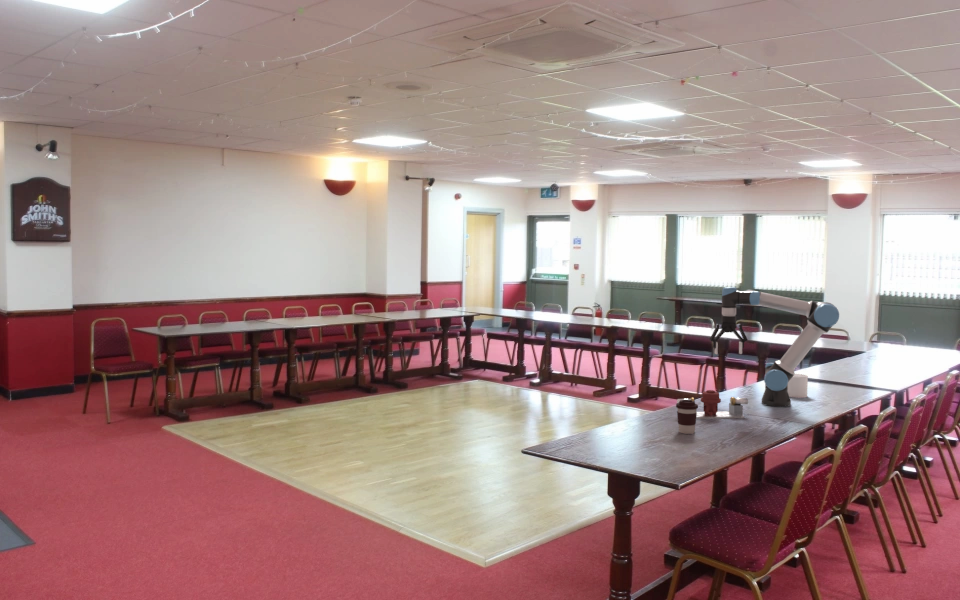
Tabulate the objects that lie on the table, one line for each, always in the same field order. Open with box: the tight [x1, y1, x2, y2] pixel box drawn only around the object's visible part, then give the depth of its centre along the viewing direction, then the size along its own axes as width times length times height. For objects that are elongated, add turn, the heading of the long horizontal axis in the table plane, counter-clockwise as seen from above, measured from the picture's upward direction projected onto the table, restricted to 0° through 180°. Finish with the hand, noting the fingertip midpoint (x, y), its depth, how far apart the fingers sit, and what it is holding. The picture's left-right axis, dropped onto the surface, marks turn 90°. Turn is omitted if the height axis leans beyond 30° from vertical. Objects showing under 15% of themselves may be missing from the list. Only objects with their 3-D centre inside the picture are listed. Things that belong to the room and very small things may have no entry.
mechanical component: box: [700, 389, 722, 416], centre depth 389 cm, size 12×10×10 cm
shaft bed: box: [676, 396, 749, 420], centre depth 389 cm, size 36×12×10 cm, turn 92°
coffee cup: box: [675, 400, 699, 435], centre depth 355 cm, size 10×10×15 cm
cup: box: [788, 373, 809, 399], centre depth 440 cm, size 12×12×12 cm
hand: (728, 354), depth 413 cm, fingers open, 13 cm apart
